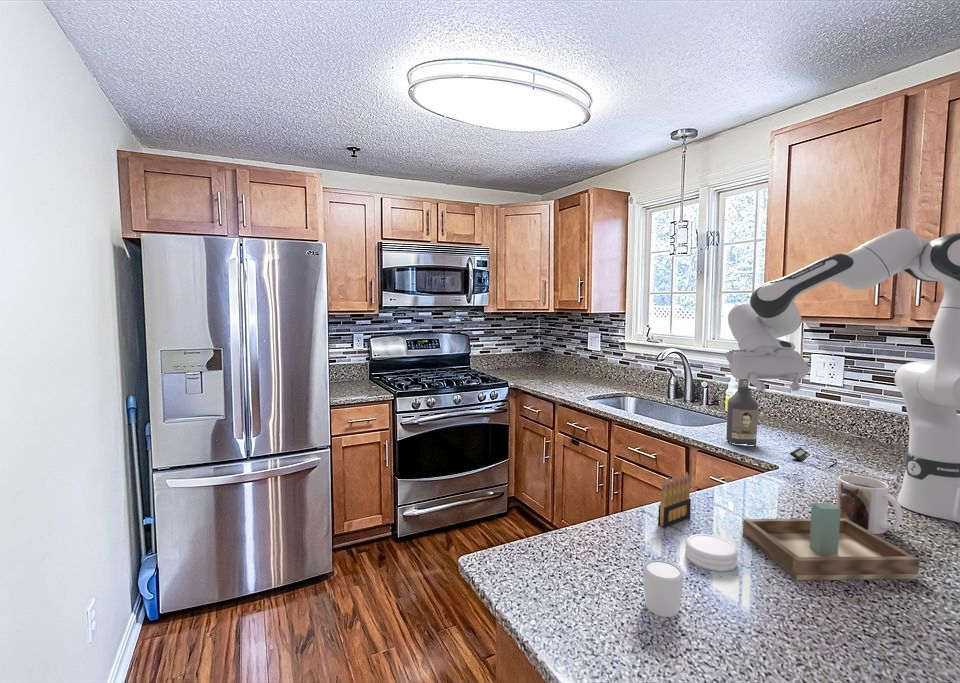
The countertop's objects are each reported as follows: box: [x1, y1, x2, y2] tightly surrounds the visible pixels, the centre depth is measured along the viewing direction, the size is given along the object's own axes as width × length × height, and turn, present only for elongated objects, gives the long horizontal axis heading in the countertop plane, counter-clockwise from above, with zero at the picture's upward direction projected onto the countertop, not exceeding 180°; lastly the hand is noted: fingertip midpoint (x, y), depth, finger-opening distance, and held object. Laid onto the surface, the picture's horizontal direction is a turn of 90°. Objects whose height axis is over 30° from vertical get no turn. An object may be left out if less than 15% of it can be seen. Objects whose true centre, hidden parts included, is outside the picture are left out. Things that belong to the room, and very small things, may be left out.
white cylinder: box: [642, 559, 685, 618], centre depth 85 cm, size 7×7×7 cm
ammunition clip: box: [657, 471, 692, 529], centre depth 119 cm, size 11×2×12 cm, turn 123°
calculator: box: [789, 447, 811, 462], centre depth 167 cm, size 9×12×3 cm
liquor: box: [725, 379, 759, 445], centre depth 188 cm, size 9×9×30 cm
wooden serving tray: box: [742, 518, 920, 581], centre depth 103 cm, size 24×18×4 cm
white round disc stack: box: [684, 533, 739, 572], centre depth 102 cm, size 10×10×4 cm
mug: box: [835, 474, 904, 535], centre depth 116 cm, size 10×12×11 cm
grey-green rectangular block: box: [809, 502, 841, 555], centre depth 103 cm, size 4×3×10 cm
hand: (779, 389), depth 129 cm, fingers open, 8 cm apart
